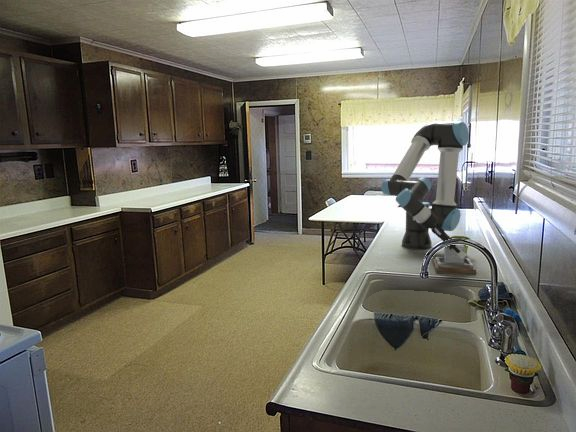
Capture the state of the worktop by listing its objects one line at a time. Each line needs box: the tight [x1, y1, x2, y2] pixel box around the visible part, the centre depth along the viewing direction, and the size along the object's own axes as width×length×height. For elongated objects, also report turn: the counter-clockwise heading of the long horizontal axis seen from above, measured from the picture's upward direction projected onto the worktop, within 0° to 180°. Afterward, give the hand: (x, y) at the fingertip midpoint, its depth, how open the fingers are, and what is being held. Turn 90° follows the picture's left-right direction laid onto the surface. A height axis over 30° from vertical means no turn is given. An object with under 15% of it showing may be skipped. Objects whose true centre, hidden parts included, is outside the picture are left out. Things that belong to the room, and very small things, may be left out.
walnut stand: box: [432, 256, 477, 275], centre depth 188 cm, size 14×16×4 cm
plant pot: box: [450, 235, 472, 255], centre depth 206 cm, size 9×9×9 cm
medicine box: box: [443, 245, 465, 264], centre depth 187 cm, size 8×4×9 cm, turn 78°
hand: (463, 255), depth 186 cm, fingers open, 5 cm apart
